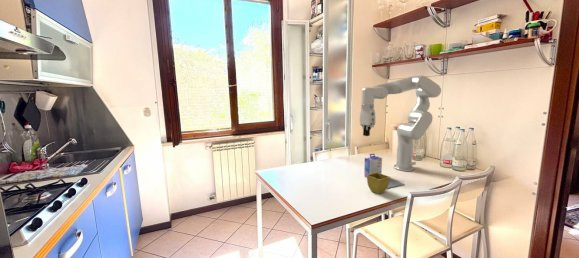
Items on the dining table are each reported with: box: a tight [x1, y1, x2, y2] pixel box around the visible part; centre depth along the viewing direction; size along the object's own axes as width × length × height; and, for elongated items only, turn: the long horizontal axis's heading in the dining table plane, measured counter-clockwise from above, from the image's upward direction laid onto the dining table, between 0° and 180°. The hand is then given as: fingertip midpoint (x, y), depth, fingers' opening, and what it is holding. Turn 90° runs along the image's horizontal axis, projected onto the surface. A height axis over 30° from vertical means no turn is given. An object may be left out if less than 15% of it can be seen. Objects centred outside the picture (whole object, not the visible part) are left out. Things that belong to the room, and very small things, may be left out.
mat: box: [386, 177, 405, 190], centre depth 149 cm, size 14×15×1 cm
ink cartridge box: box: [363, 153, 383, 178], centre depth 158 cm, size 10×6×14 cm, turn 113°
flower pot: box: [366, 173, 391, 195], centre depth 136 cm, size 9×9×9 cm
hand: (366, 135), depth 162 cm, fingers closed
